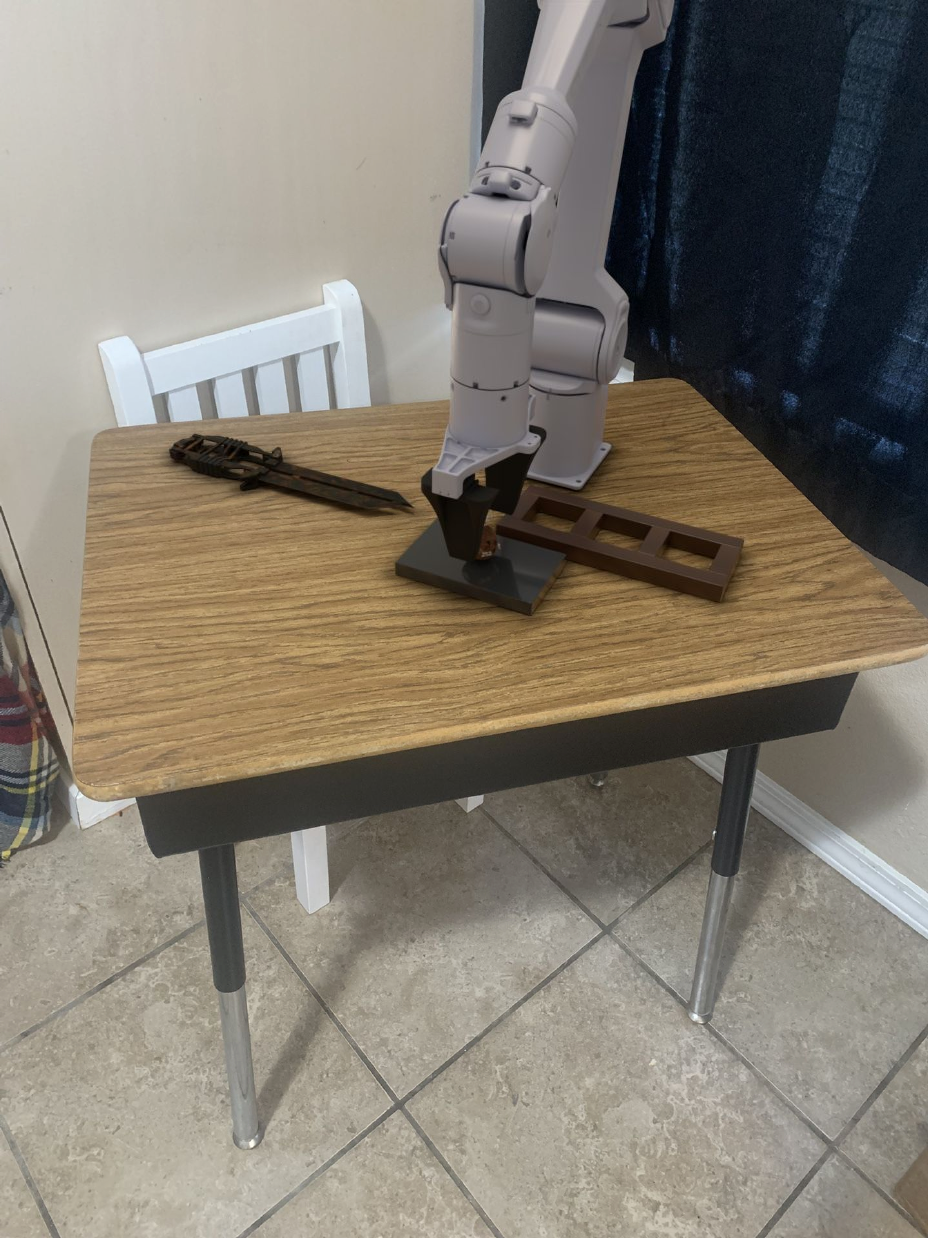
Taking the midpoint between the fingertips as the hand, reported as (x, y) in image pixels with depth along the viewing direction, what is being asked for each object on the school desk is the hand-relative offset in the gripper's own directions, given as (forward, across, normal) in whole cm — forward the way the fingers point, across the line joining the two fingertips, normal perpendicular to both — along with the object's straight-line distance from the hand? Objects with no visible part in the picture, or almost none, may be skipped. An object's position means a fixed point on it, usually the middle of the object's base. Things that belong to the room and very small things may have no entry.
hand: (482, 533), depth 78 cm
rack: (+4, +8, -9) cm, 13 cm away
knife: (+4, +5, +22) cm, 22 cm away
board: (+4, 0, 0) cm, 4 cm away
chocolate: (+3, 0, 0) cm, 3 cm away
